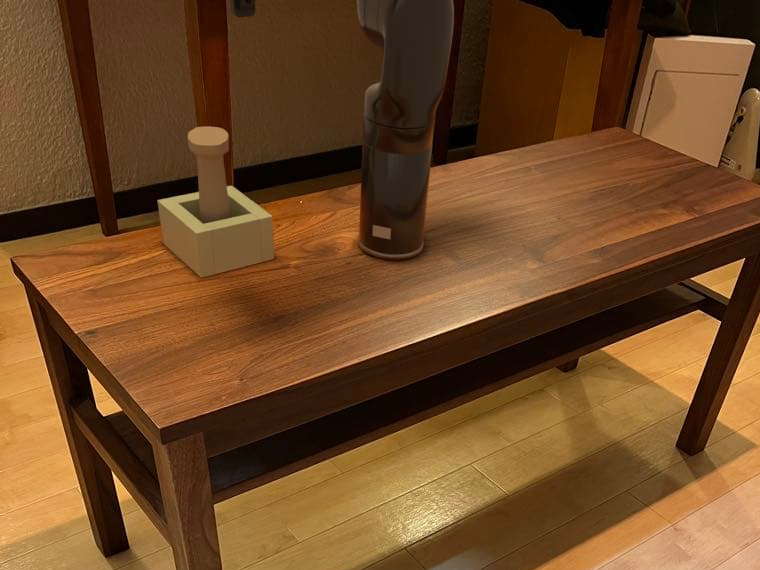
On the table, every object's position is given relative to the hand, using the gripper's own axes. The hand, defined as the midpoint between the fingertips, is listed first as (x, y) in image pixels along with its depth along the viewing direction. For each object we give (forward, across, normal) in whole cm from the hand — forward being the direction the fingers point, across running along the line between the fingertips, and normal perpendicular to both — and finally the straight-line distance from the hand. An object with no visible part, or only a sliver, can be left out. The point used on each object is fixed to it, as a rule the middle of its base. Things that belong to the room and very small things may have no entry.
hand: (221, 4), depth 77 cm
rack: (+32, +15, -5) cm, 36 cm away
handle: (+32, +15, -4) cm, 36 cm away
